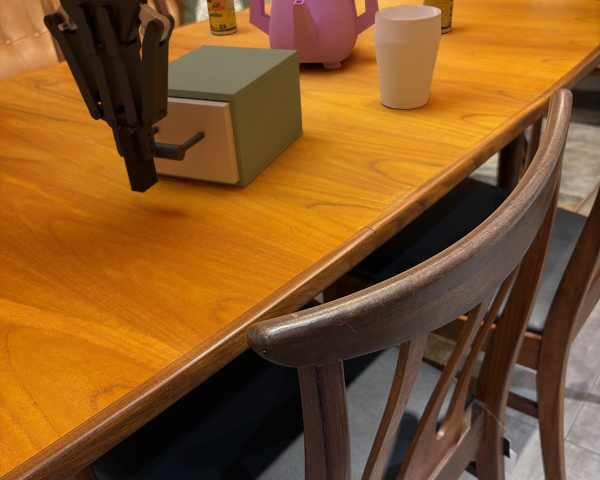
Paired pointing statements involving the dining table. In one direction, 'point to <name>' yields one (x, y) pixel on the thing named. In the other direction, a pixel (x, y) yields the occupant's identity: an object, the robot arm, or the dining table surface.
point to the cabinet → (245, 98)
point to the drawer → (196, 141)
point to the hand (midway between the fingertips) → (145, 186)
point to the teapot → (314, 27)
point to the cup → (406, 53)
